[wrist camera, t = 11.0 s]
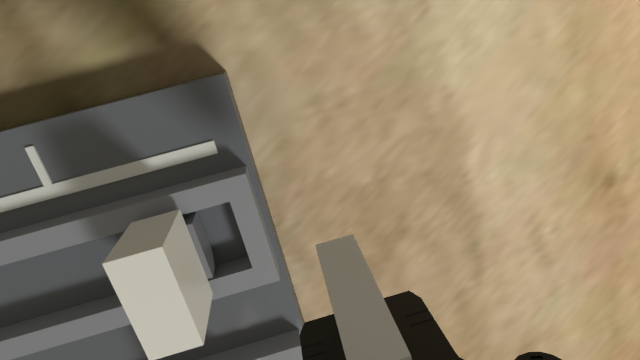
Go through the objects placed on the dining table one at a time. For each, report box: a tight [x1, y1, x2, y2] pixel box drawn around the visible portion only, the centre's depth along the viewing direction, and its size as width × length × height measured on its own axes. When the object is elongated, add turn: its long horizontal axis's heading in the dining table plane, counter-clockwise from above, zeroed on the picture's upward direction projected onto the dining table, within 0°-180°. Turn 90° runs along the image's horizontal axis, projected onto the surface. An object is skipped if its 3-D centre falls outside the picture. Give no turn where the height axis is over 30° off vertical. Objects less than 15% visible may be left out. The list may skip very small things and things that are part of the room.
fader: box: [102, 209, 216, 360], centre depth 20 cm, size 3×5×6 cm, turn 14°
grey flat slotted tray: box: [0, 72, 305, 360], centre depth 24 cm, size 20×26×4 cm
